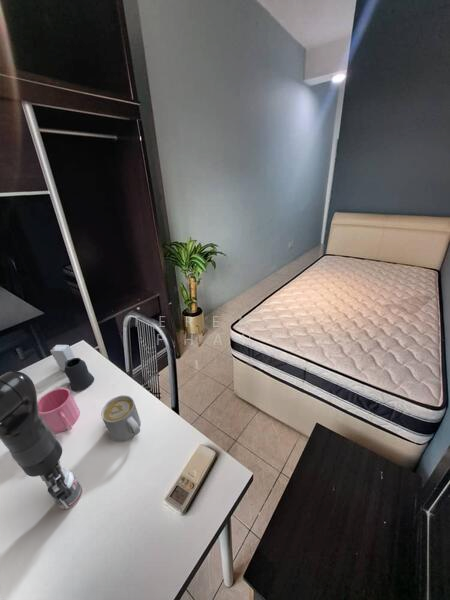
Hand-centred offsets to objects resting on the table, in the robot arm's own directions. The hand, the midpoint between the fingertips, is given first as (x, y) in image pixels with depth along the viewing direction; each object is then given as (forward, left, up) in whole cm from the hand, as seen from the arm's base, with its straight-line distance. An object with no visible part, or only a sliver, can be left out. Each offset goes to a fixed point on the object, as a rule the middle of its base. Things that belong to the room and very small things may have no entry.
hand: (63, 486), depth 64 cm
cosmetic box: (-16, +55, -6) cm, 58 cm away
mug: (-9, +45, -6) cm, 46 cm away
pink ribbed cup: (-9, +26, -6) cm, 28 cm away
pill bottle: (0, 0, -6) cm, 6 cm away
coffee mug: (+13, +16, -6) cm, 21 cm away
